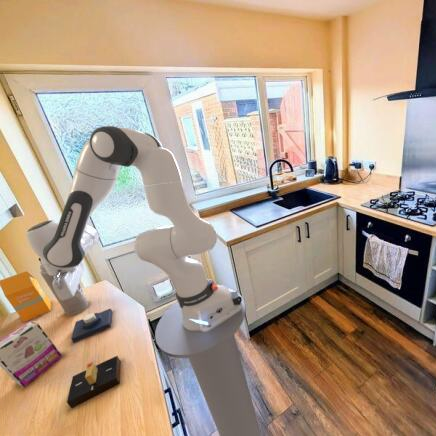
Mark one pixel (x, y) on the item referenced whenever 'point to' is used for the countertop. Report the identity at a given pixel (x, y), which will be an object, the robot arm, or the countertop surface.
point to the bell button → (89, 318)
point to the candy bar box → (27, 353)
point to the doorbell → (92, 326)
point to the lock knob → (91, 373)
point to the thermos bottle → (69, 305)
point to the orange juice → (25, 295)
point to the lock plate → (104, 381)
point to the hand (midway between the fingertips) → (79, 294)
